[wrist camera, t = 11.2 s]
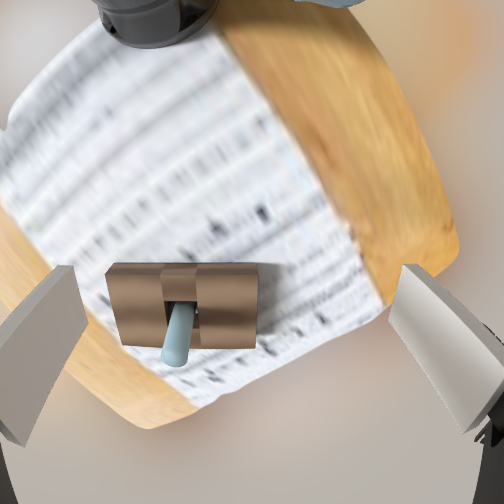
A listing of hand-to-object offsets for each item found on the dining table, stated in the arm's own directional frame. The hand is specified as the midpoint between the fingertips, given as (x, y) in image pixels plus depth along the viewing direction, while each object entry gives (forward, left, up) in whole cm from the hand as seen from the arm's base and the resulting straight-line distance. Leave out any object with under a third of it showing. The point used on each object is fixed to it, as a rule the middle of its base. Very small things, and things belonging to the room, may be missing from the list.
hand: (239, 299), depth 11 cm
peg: (+17, -7, -27) cm, 32 cm away
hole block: (+17, -7, -27) cm, 32 cm away
